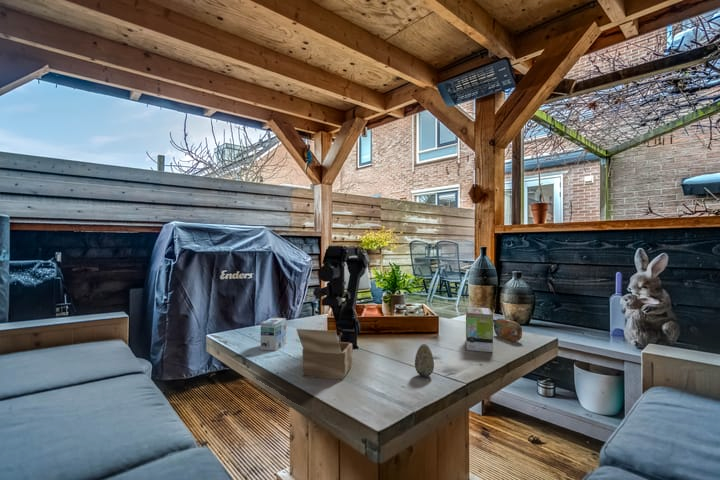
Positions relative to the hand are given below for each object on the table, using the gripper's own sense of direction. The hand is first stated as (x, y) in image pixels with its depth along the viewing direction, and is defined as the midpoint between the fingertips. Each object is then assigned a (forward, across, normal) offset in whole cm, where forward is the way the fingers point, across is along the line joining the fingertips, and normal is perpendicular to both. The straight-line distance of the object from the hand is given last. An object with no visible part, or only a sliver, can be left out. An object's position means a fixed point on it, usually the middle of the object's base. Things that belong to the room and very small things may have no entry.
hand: (336, 321), depth 128 cm
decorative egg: (+13, +13, +32) cm, 37 cm away
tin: (+13, -38, +67) cm, 78 cm away
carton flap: (+1, +24, +1) cm, 24 cm away
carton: (+13, +15, +1) cm, 20 cm away
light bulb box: (+13, -8, -29) cm, 33 cm away
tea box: (+13, -25, +53) cm, 60 cm away
